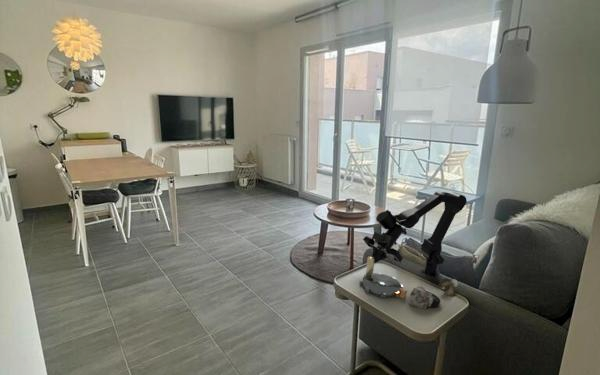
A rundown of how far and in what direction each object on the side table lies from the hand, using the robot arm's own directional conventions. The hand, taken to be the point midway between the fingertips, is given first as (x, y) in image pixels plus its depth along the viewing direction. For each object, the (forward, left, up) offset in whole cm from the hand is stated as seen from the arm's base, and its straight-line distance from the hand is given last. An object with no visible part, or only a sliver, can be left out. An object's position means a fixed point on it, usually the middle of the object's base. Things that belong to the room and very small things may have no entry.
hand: (370, 264), depth 140 cm
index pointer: (+1, +17, -8) cm, 18 cm away
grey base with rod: (+1, +7, -7) cm, 10 cm away
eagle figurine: (-17, +27, -8) cm, 33 cm away
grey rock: (-1, +24, -8) cm, 25 cm away
